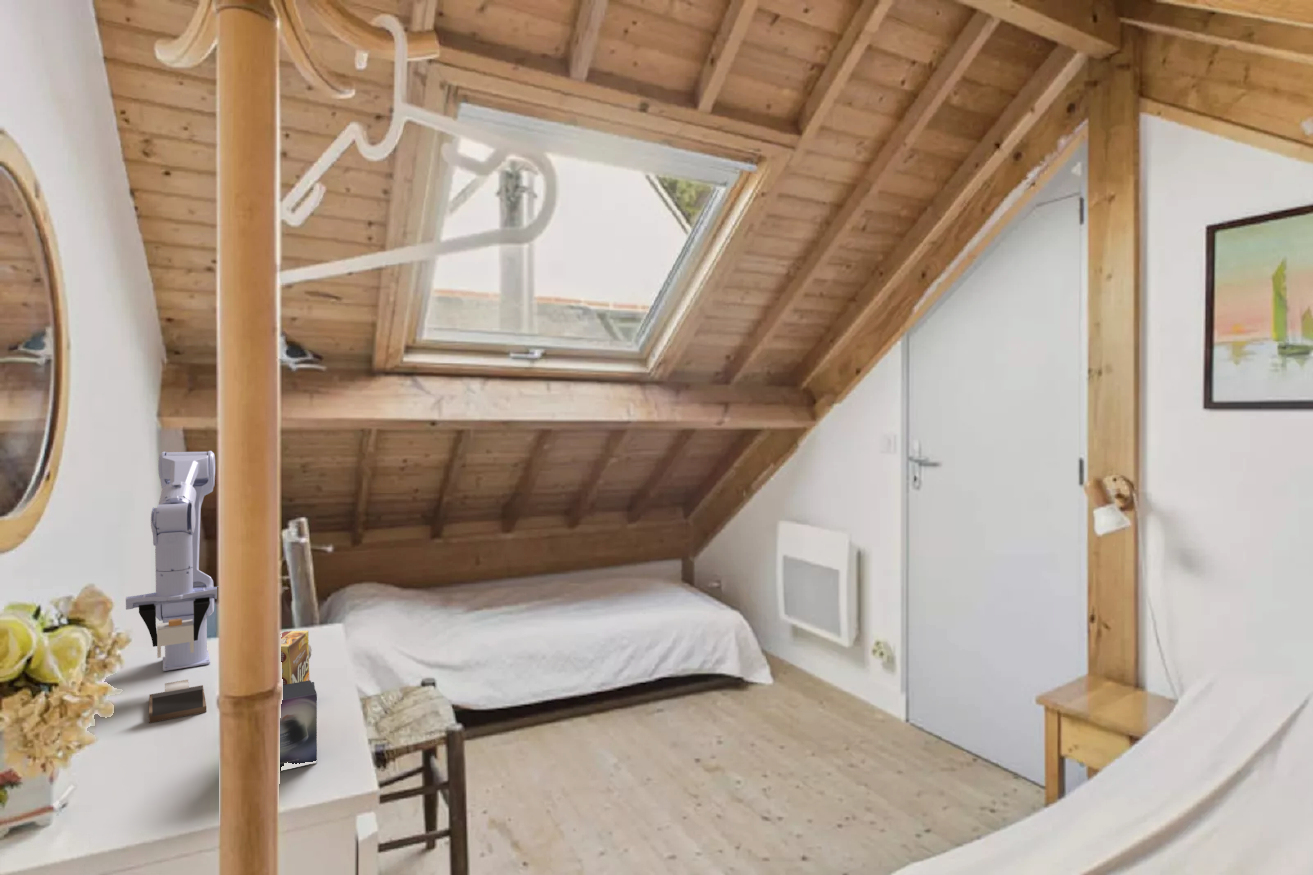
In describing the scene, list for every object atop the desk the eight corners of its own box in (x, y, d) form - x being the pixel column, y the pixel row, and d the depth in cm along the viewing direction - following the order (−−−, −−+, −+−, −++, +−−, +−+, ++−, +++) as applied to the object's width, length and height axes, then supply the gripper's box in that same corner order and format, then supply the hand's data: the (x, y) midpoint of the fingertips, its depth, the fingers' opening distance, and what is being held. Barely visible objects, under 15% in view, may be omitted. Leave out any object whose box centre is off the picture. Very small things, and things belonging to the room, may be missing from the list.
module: (157, 650, 134) (157, 619, 133) (192, 645, 137) (192, 615, 137) (157, 657, 129) (157, 625, 129) (193, 652, 133) (193, 620, 132)
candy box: (291, 746, 109) (290, 646, 109) (261, 748, 109) (260, 647, 108) (311, 722, 118) (310, 629, 118) (284, 724, 117) (282, 630, 117)
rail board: (149, 700, 128) (149, 677, 128) (202, 690, 132) (202, 668, 132) (148, 723, 118) (148, 698, 118) (206, 711, 123) (206, 688, 122)
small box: (233, 785, 98) (232, 708, 98) (230, 766, 103) (229, 693, 103) (318, 764, 104) (317, 692, 103) (311, 747, 109) (310, 678, 109)
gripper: (124, 577, 125) (125, 654, 126) (221, 567, 134) (222, 640, 134) (126, 570, 131) (127, 645, 131) (219, 561, 140) (220, 631, 140)
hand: (175, 642), depth 133 cm, fingers closed on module, 5 cm apart
